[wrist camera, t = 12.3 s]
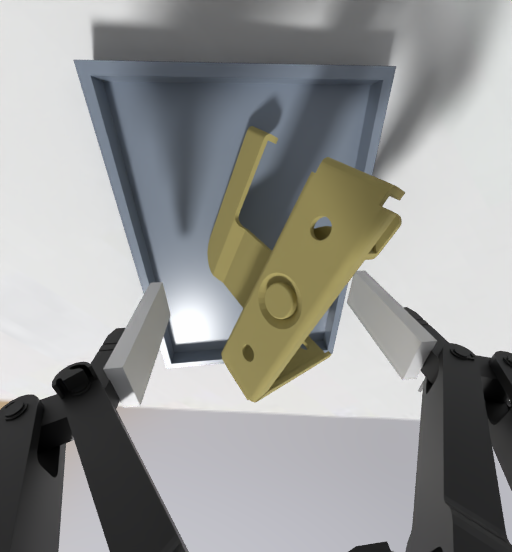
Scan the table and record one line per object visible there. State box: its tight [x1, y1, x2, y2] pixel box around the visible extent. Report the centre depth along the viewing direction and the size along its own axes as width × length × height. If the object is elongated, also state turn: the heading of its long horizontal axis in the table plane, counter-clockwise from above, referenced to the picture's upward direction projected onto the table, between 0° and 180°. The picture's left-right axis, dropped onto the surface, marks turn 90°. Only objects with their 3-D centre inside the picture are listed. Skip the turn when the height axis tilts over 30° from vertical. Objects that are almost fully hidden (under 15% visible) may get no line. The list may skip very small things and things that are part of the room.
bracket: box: [207, 126, 405, 402], centre depth 18 cm, size 10×14×10 cm
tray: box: [74, 60, 396, 368], centre depth 19 cm, size 23×17×2 cm
